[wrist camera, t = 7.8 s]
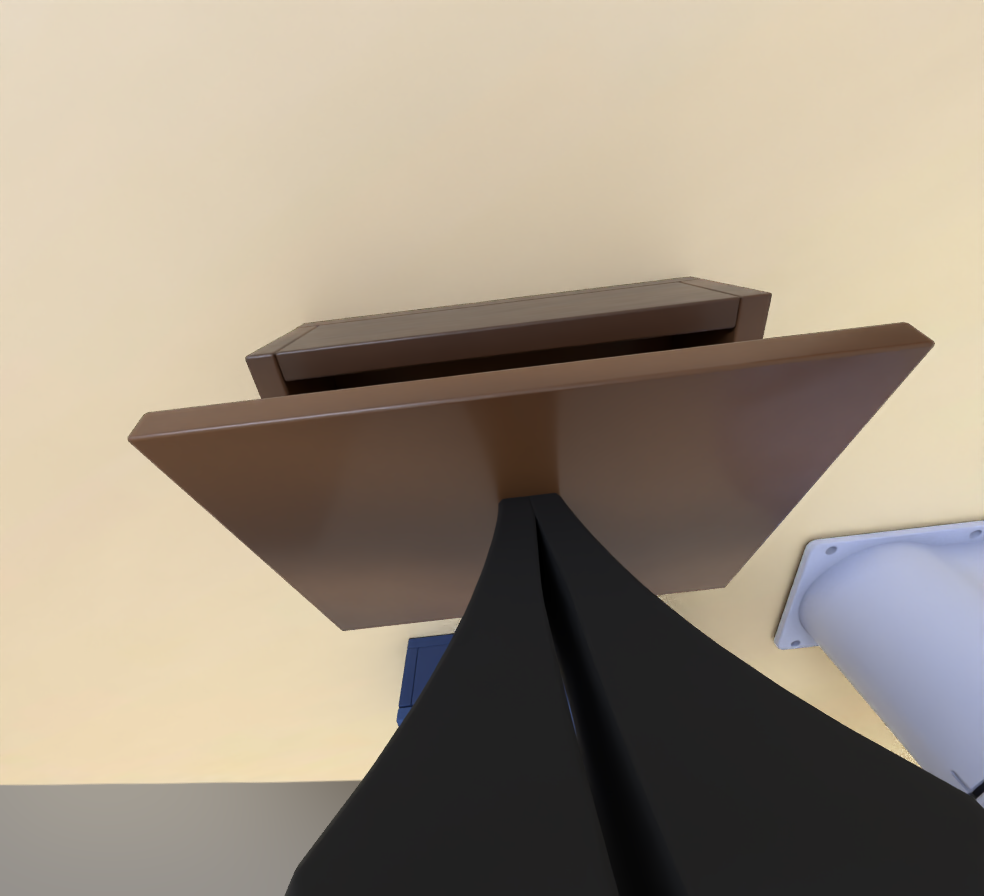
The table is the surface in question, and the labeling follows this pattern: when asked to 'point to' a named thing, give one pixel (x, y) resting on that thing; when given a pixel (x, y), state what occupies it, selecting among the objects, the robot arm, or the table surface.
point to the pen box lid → (531, 464)
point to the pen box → (508, 335)
